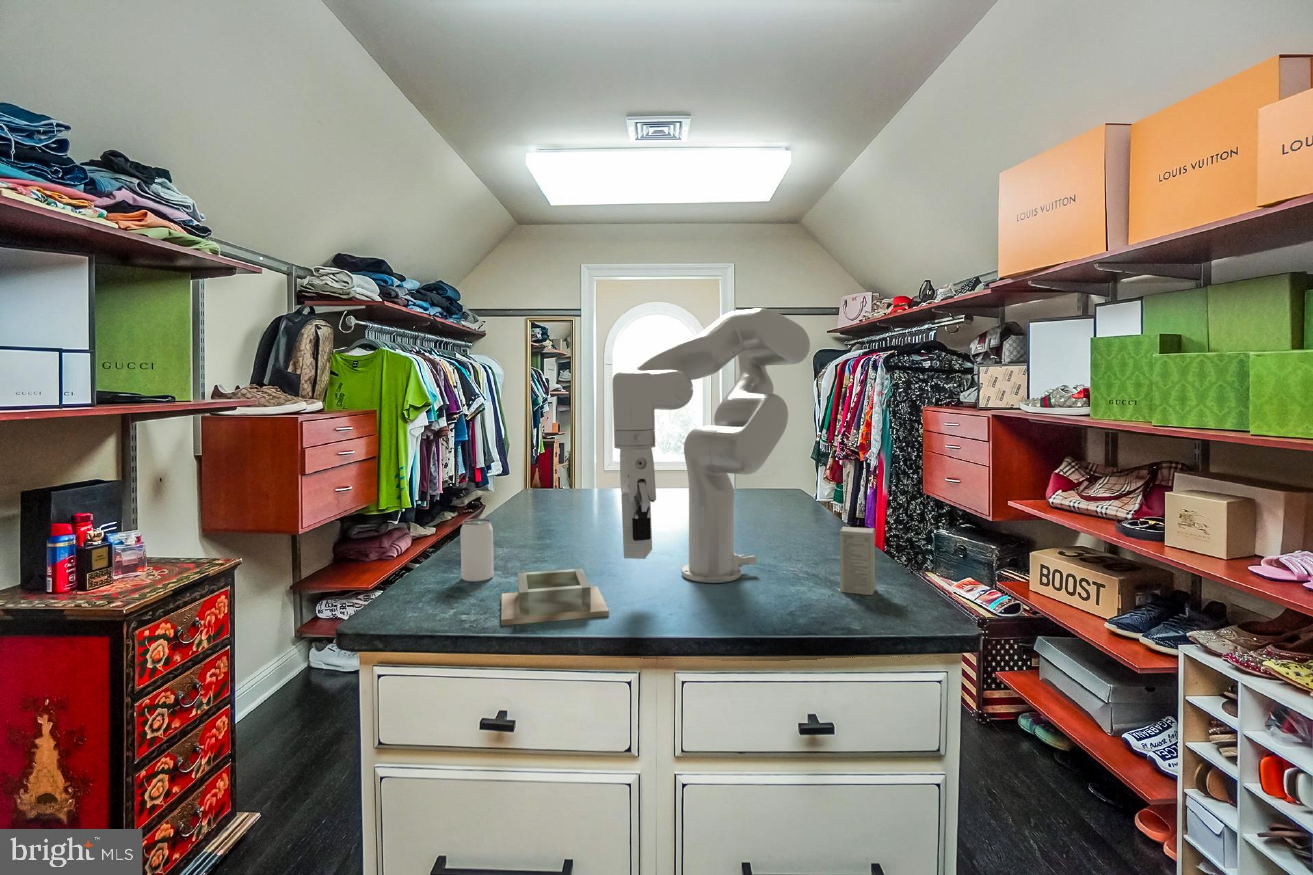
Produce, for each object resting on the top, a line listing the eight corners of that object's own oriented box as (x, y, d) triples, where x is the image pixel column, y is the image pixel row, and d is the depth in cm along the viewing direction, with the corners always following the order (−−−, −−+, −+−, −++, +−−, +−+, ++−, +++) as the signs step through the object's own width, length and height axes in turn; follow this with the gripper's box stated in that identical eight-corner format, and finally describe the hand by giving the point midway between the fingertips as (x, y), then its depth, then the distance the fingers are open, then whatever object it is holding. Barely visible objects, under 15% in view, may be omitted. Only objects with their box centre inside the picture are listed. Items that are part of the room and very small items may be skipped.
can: (484, 583, 126) (483, 525, 125) (455, 581, 127) (454, 523, 126) (499, 574, 132) (497, 518, 131) (471, 572, 133) (469, 517, 132)
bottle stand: (597, 591, 120) (597, 566, 120) (608, 615, 107) (608, 587, 106) (501, 598, 116) (501, 572, 116) (501, 625, 102) (500, 595, 102)
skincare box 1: (630, 549, 118) (629, 487, 117) (652, 550, 117) (650, 488, 116) (622, 558, 112) (620, 493, 111) (645, 559, 112) (643, 493, 110)
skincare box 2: (875, 589, 121) (876, 528, 120) (872, 596, 117) (873, 532, 116) (841, 585, 123) (842, 525, 123) (838, 592, 119) (839, 529, 119)
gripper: (666, 442, 105) (668, 544, 107) (644, 434, 122) (646, 523, 124) (623, 444, 104) (626, 548, 105) (606, 436, 121) (609, 526, 122)
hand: (637, 534), depth 115 cm, fingers closed on skincare box 1, 7 cm apart
